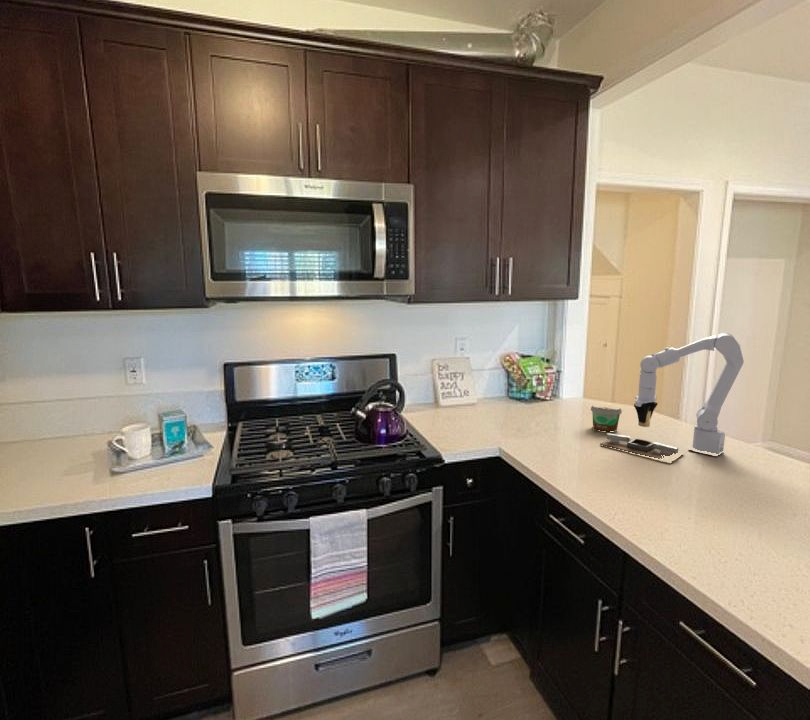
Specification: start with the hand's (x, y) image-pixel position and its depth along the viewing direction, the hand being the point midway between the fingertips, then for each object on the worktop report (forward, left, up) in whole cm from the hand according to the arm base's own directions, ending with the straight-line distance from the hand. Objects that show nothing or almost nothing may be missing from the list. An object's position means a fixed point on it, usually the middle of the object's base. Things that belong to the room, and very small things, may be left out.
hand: (644, 421), depth 183 cm
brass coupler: (0, 0, -2) cm, 2 cm away
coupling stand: (-3, +10, -9) cm, 13 cm away
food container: (+17, -2, -9) cm, 19 cm away
